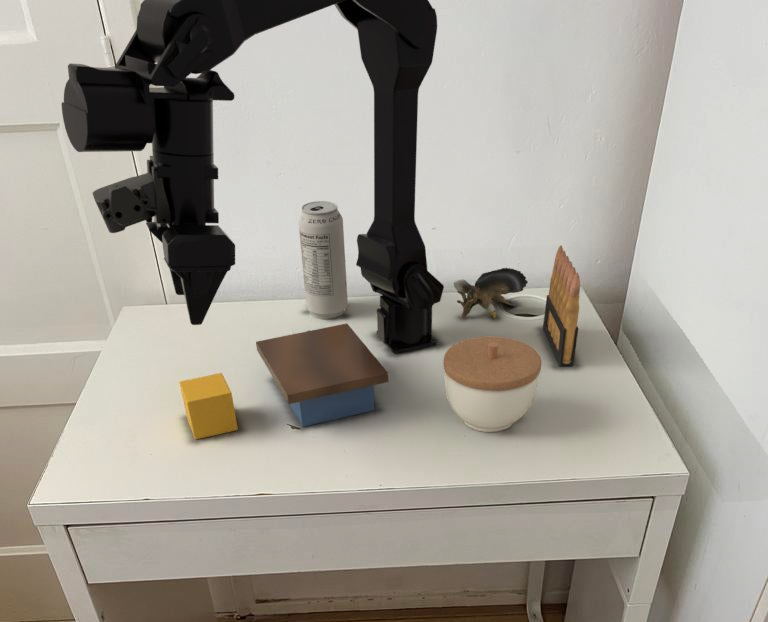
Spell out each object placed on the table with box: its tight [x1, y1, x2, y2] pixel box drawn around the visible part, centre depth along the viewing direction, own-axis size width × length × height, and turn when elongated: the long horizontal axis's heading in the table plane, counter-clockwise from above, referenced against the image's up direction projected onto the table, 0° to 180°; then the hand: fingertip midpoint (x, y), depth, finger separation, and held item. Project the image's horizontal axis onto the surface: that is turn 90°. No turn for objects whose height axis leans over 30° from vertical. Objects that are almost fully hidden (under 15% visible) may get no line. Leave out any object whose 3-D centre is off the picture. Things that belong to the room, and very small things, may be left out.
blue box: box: [288, 385, 375, 428], centre depth 95 cm, size 9×12×4 cm
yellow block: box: [178, 372, 239, 440], centre depth 90 cm, size 5×5×5 cm
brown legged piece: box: [453, 267, 529, 319], centre depth 111 cm, size 8×7×9 cm
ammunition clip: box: [542, 245, 581, 367], centre depth 100 cm, size 11×2×12 cm, turn 3°
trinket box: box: [443, 336, 542, 433], centre depth 88 cm, size 11×11×9 cm
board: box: [255, 323, 389, 405], centre depth 93 cm, size 12×14×1 cm
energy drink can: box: [297, 200, 349, 320], centre depth 109 cm, size 6×6×15 cm
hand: (188, 308), depth 83 cm, fingers open, 9 cm apart
